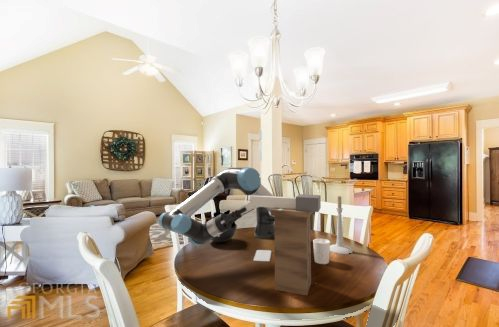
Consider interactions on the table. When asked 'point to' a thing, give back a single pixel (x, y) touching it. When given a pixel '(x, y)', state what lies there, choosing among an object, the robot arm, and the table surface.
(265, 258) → the smartphone
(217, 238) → the bowl of black rocks
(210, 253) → the table surface
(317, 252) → the white cup
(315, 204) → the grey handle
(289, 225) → the tall stand
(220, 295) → the table surface
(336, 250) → the candlestick
